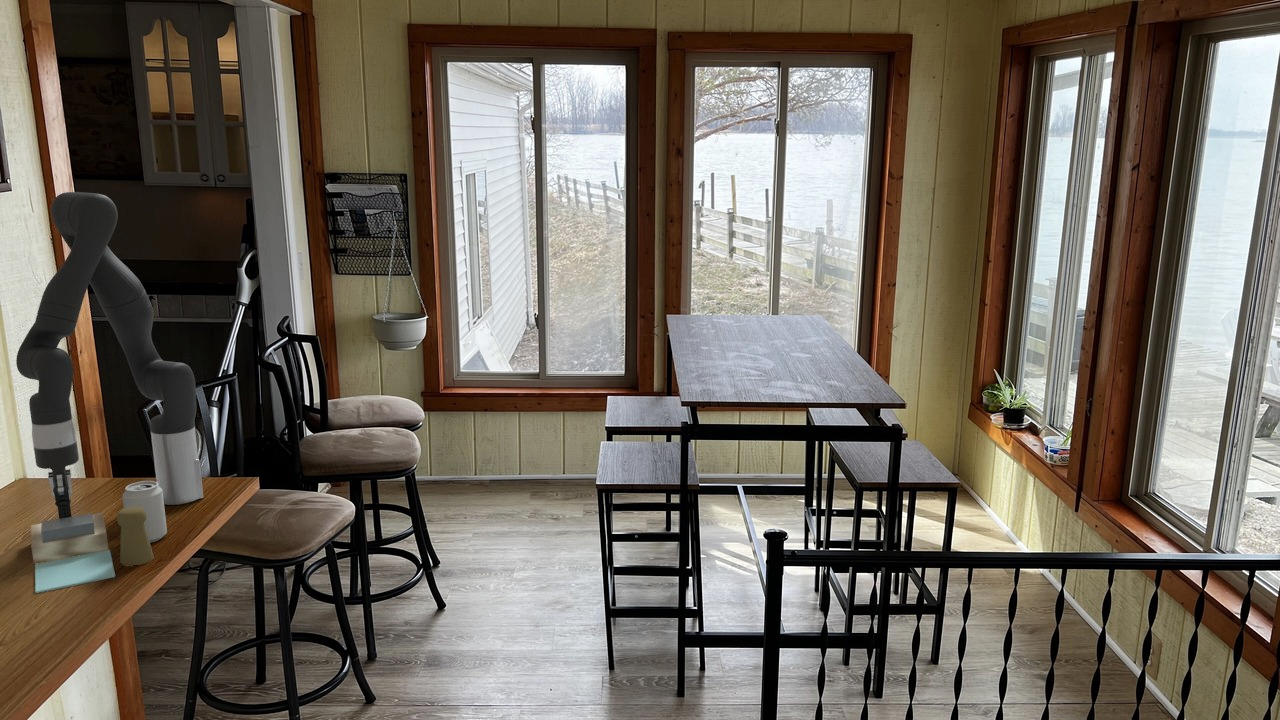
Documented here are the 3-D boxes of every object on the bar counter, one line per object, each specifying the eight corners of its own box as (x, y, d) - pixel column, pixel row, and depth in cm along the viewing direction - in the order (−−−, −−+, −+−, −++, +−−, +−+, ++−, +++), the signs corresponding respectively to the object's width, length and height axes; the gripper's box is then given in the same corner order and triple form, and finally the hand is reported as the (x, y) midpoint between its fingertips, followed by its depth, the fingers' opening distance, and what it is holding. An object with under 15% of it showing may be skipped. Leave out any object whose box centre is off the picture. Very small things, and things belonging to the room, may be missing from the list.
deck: (104, 529, 202) (102, 512, 201) (108, 550, 192) (106, 532, 191) (33, 542, 195) (31, 525, 195) (34, 565, 185) (31, 546, 184)
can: (175, 533, 200) (169, 481, 198) (147, 547, 193) (140, 493, 191) (148, 529, 203) (142, 477, 200) (119, 542, 196) (112, 488, 193)
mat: (110, 551, 191) (109, 549, 191) (115, 576, 180) (115, 575, 180) (35, 566, 184) (35, 564, 184) (35, 593, 173) (35, 591, 173)
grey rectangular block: (93, 523, 195) (92, 513, 195) (94, 533, 190) (93, 522, 190) (43, 532, 191) (41, 521, 190) (42, 542, 186) (41, 531, 185)
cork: (139, 567, 184) (133, 515, 182) (112, 564, 185) (106, 513, 183) (160, 555, 190) (154, 504, 187) (134, 552, 191) (128, 502, 189)
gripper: (77, 447, 187) (87, 528, 190) (75, 431, 198) (85, 507, 201) (32, 453, 183) (44, 535, 186) (33, 436, 194) (44, 514, 197)
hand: (65, 521), depth 194 cm, fingers closed
